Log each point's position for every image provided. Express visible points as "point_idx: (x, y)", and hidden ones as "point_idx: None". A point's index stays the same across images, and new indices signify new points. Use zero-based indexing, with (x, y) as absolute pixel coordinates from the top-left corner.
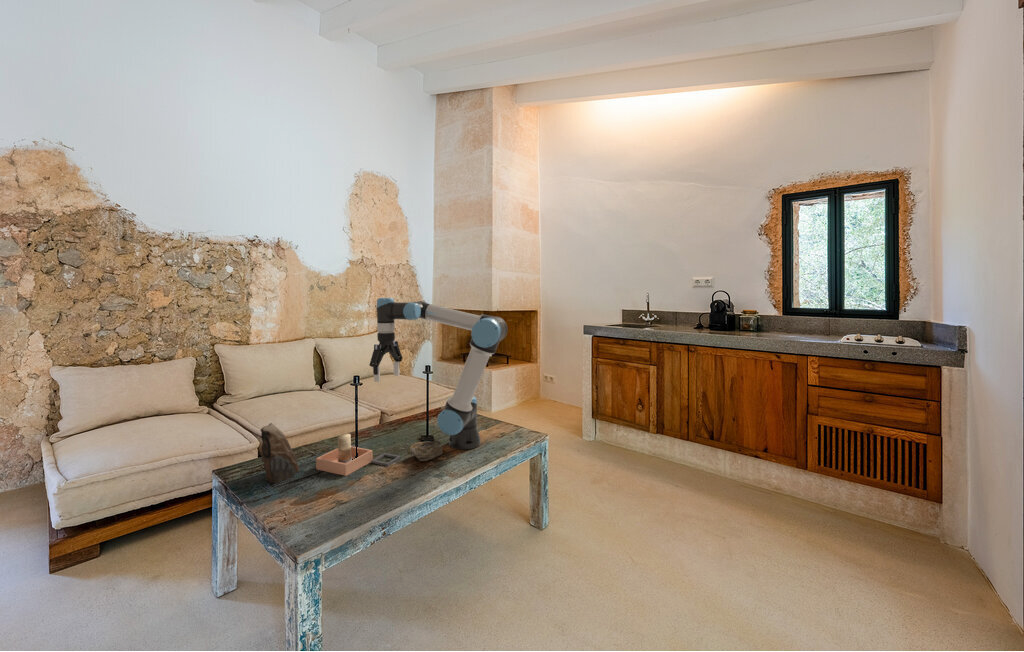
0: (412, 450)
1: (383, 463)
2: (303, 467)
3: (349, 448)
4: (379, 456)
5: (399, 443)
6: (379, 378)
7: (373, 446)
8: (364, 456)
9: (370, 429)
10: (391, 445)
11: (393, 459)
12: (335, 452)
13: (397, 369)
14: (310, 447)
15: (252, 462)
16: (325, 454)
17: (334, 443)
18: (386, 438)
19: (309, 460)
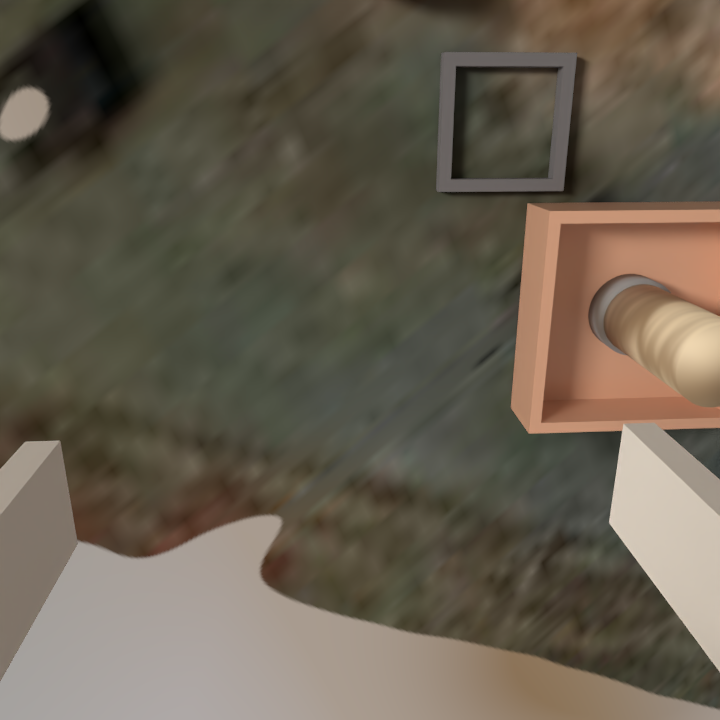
0: None
1: (572, 90)
2: None
3: (677, 302)
4: (494, 185)
5: (232, 230)
6: (677, 452)
7: (345, 349)
8: (622, 208)
9: (126, 553)
10: (284, 257)
11: (506, 63)
12: (605, 414)
13: (3, 538)
14: (484, 625)
15: (702, 692)
16: (680, 422)
17: (396, 567)
18: (201, 366)
19: None
